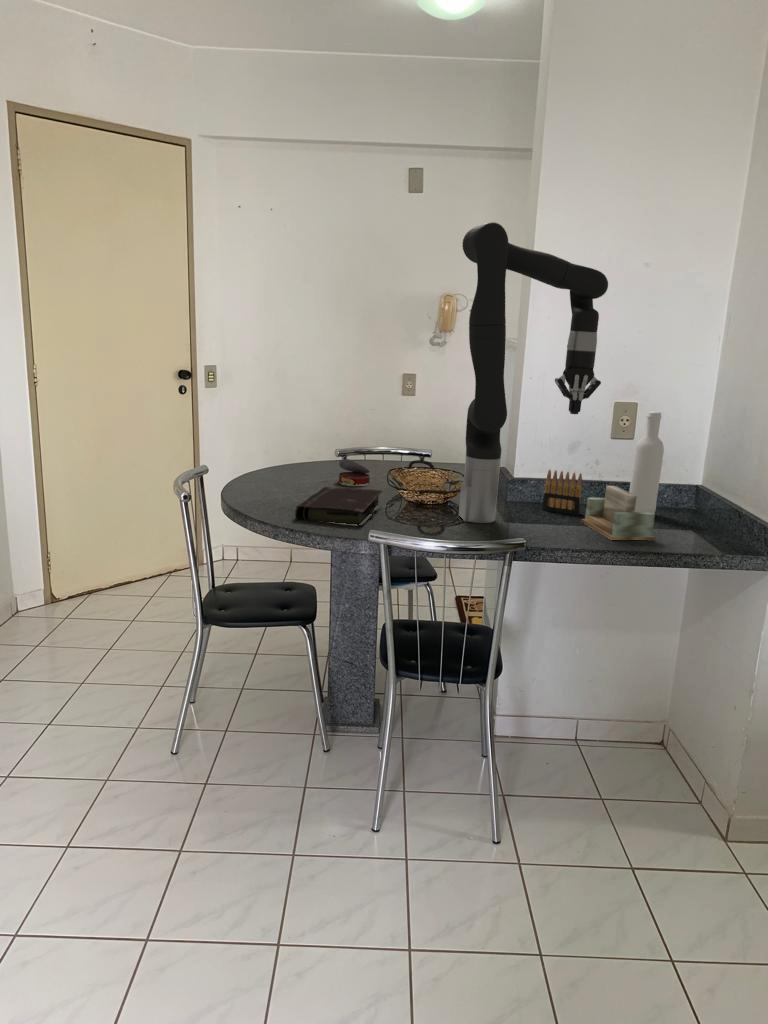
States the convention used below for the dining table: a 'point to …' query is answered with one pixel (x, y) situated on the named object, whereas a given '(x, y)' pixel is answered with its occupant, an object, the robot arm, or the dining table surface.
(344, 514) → the diary
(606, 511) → the ash slat
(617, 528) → the slat holder
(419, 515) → the dining table surface
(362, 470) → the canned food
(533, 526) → the dining table surface
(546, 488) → the ammunition clip
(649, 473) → the bottle
